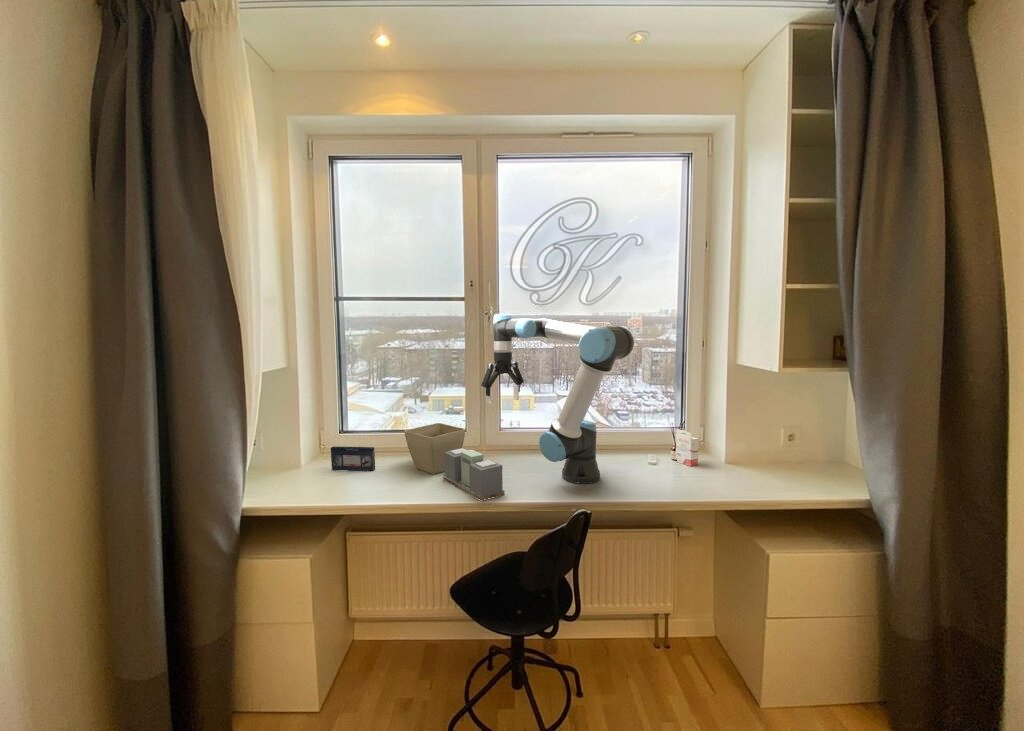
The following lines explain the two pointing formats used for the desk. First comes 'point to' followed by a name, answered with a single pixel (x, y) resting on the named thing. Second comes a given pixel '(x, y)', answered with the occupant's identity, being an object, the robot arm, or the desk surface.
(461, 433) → the flower pot
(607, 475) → the desk surface
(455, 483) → the rail board
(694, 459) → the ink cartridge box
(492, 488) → the mounted modules
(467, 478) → the block
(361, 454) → the vhs cassette tape
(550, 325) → the robot arm
